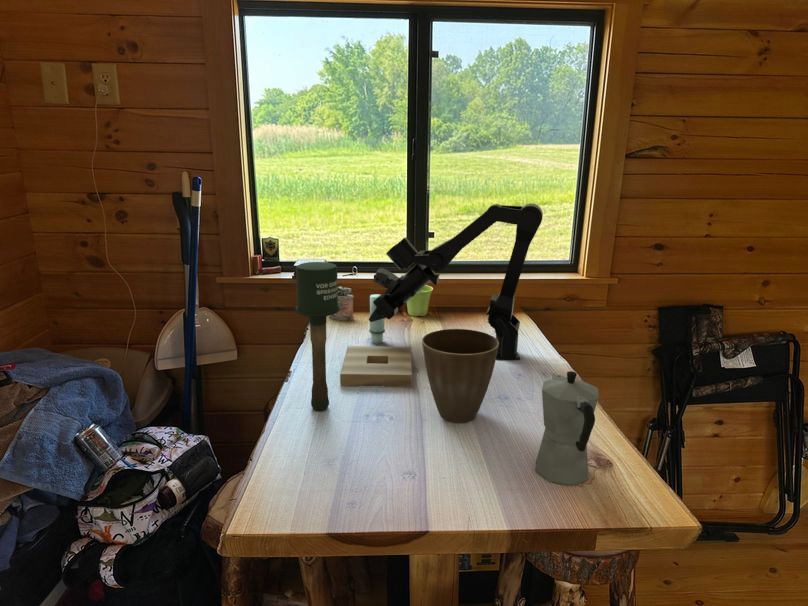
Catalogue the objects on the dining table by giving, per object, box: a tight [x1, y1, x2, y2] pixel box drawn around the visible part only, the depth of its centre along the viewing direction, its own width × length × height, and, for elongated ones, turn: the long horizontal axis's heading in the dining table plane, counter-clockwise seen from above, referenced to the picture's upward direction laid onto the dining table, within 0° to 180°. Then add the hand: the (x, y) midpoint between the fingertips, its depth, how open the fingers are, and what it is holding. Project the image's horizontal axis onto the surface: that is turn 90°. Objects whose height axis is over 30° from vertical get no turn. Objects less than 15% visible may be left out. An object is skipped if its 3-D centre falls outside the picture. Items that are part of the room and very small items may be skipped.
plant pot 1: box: [406, 284, 434, 317], centre depth 181 cm, size 9×9×9 cm
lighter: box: [328, 286, 355, 322], centre depth 175 cm, size 8×3×10 cm, turn 73°
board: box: [339, 345, 413, 388], centre depth 135 cm, size 18×16×3 cm
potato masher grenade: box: [295, 261, 340, 412], centre depth 112 cm, size 8×9×30 cm
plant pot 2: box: [421, 328, 499, 424], centre depth 113 cm, size 15×15×16 cm
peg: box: [368, 293, 386, 345], centre depth 154 cm, size 4×4×13 cm
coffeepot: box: [534, 370, 600, 486], centre depth 92 cm, size 15×9×18 cm, turn 6°
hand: (372, 318), depth 155 cm, fingers open, 4 cm apart
